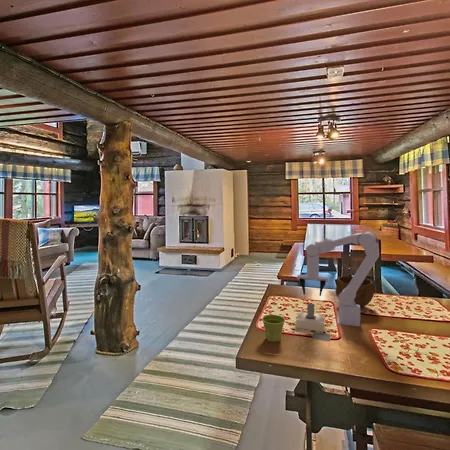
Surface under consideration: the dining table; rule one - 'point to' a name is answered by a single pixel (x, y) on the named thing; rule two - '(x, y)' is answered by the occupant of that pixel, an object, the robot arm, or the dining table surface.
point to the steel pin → (310, 311)
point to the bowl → (363, 292)
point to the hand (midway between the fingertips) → (312, 294)
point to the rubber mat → (321, 336)
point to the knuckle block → (310, 322)
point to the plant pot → (273, 327)
